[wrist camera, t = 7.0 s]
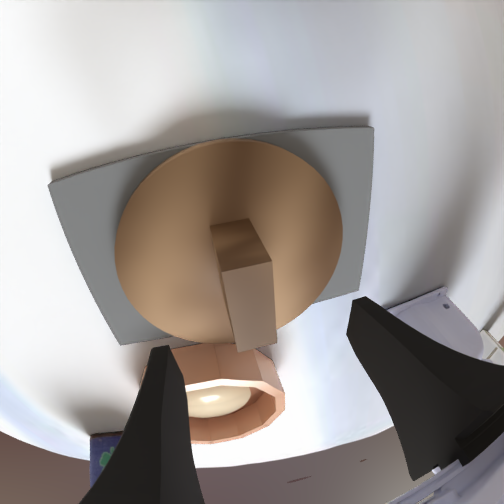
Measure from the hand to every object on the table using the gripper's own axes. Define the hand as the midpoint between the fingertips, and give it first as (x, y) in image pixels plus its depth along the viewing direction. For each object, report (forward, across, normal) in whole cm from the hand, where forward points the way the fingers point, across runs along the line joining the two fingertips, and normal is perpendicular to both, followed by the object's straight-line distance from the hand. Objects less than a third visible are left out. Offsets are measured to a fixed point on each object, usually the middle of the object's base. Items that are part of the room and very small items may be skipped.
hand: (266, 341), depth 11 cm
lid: (+7, 0, 0) cm, 7 cm away
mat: (+8, 0, 0) cm, 8 cm away
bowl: (+8, +4, +14) cm, 16 cm away
